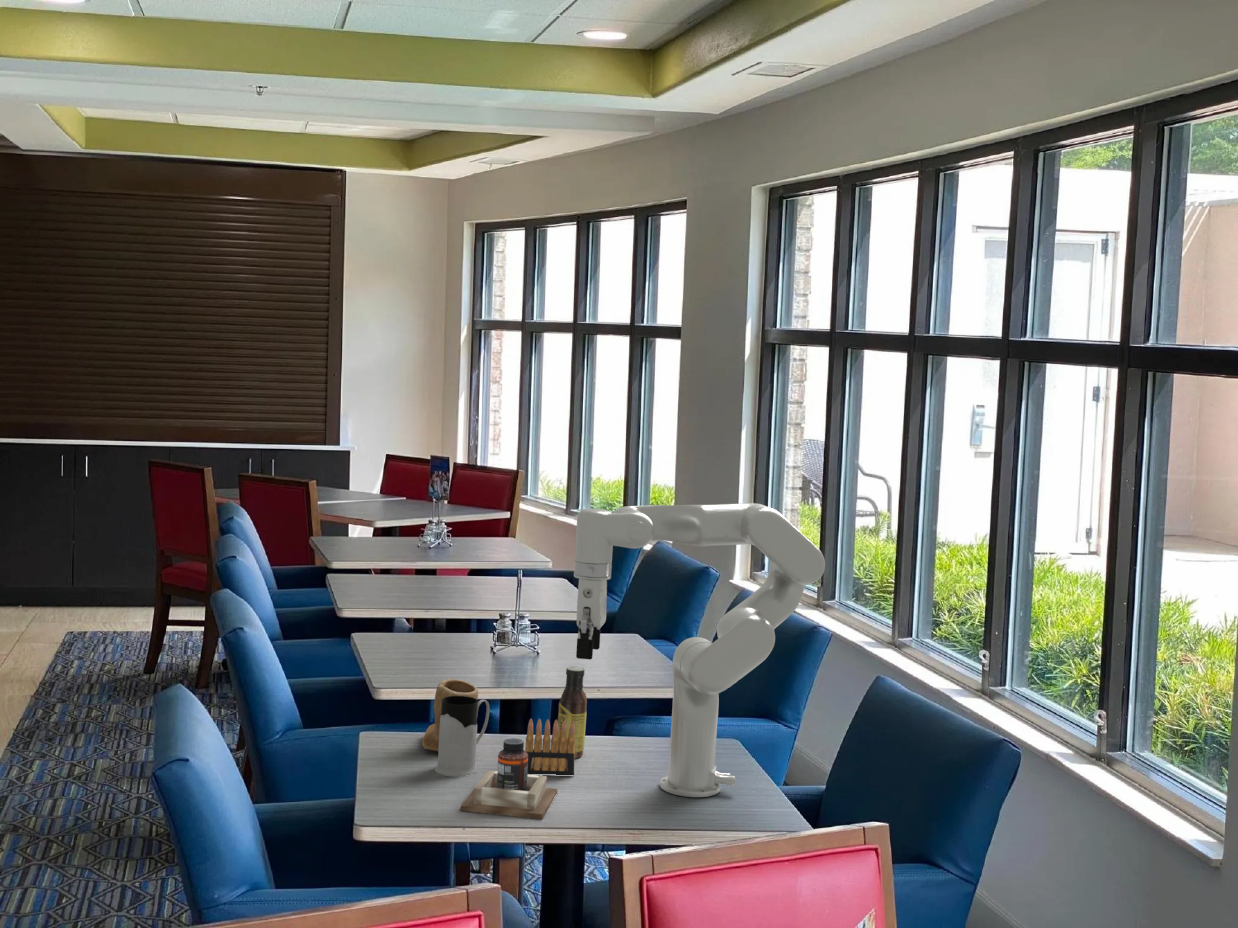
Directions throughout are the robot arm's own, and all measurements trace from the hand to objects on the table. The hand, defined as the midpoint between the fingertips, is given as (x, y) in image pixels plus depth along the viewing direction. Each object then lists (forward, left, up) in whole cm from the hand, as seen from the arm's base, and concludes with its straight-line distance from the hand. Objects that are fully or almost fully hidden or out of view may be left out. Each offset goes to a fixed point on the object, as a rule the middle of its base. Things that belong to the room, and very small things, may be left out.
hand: (587, 653), depth 272 cm
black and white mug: (+26, -7, -28) cm, 39 cm away
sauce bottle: (+6, -23, -28) cm, 37 cm away
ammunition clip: (+8, -8, -29) cm, 31 cm away
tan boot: (+33, -21, -28) cm, 48 cm away
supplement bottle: (+12, +12, -28) cm, 32 cm away
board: (+12, +12, -28) cm, 33 cm away
